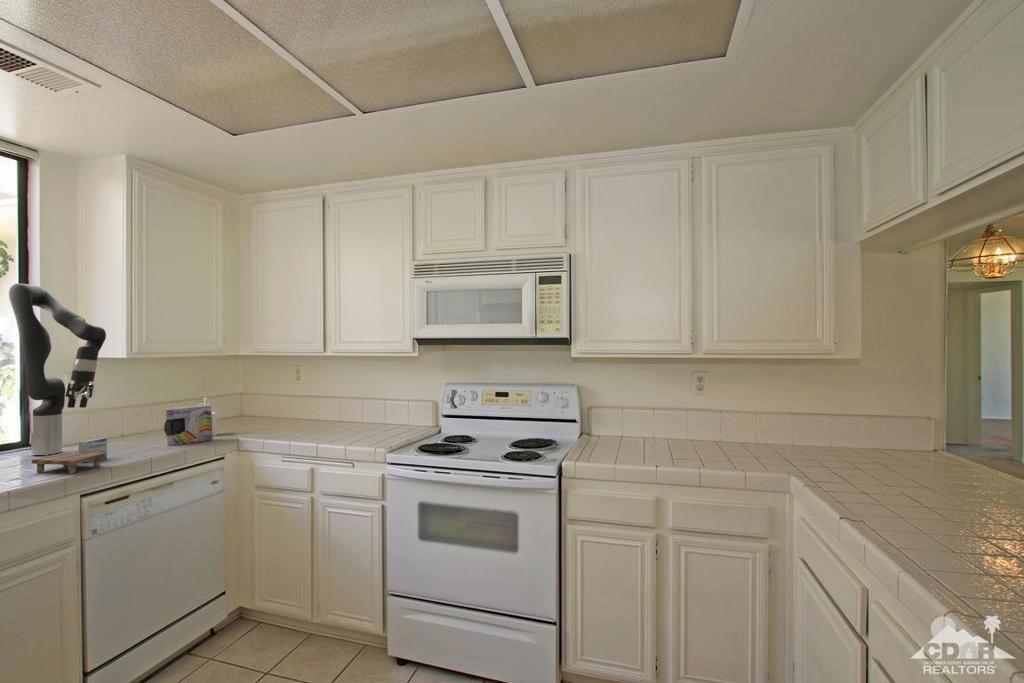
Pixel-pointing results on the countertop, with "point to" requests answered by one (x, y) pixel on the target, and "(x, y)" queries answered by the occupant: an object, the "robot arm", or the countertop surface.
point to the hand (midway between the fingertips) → (76, 407)
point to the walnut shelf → (68, 460)
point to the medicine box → (94, 446)
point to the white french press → (206, 402)
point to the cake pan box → (188, 424)
